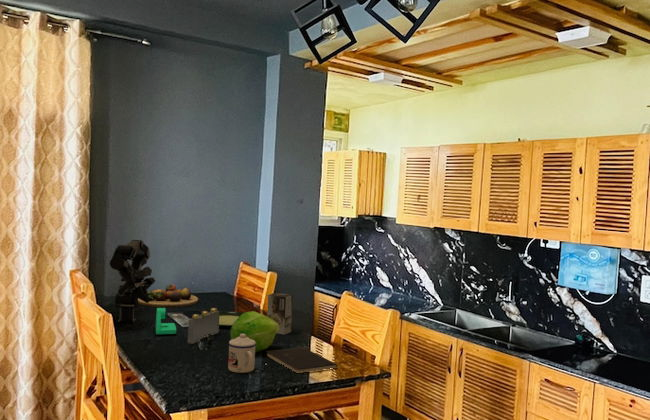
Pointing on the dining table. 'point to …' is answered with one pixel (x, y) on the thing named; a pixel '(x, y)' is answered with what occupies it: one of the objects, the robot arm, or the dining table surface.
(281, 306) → the coffee box
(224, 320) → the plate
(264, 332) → the lettuce
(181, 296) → the wooden plate with food
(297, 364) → the hardcover book
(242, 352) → the teacup with lid
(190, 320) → the grey upright panel
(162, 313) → the camera mount
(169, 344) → the dining table surface
